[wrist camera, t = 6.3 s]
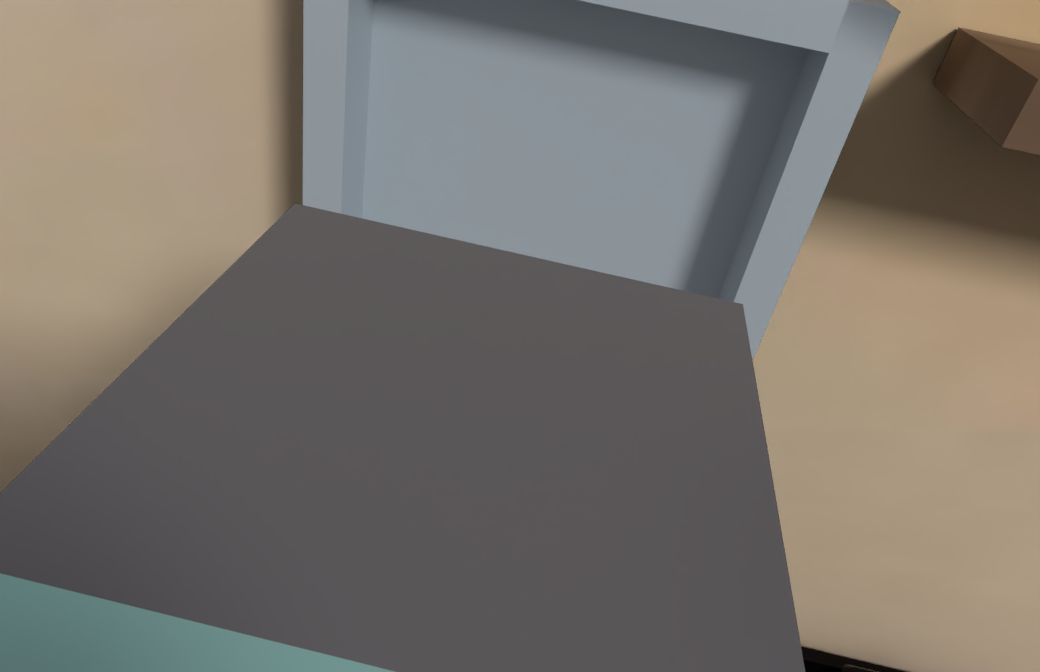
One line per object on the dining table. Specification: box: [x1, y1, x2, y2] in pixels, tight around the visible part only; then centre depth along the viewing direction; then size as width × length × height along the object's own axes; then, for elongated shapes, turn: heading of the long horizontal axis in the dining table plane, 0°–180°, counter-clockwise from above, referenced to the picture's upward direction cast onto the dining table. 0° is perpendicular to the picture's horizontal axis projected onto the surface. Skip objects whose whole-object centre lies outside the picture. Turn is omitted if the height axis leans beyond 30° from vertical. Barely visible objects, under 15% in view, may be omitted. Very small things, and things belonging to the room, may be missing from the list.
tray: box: [303, 0, 900, 361], centre depth 16 cm, size 12×10×2 cm
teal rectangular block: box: [0, 203, 805, 672], centre depth 8 cm, size 7×5×6 cm
